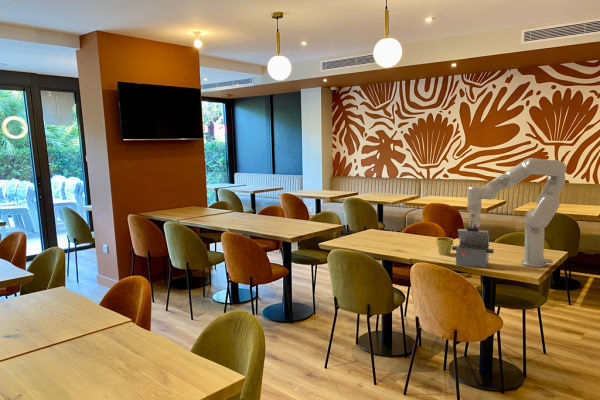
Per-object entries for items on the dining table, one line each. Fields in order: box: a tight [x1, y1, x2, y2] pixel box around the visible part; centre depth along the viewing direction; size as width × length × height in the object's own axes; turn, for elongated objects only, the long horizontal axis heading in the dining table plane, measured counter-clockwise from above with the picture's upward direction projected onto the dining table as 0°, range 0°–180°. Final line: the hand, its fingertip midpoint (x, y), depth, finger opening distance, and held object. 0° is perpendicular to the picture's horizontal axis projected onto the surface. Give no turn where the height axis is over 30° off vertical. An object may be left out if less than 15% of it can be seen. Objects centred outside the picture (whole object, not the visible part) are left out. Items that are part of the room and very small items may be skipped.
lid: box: [457, 227, 490, 247], centre depth 252 cm, size 16×14×3 cm
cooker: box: [451, 243, 494, 269], centre depth 250 cm, size 22×12×10 cm, turn 61°
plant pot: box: [435, 236, 454, 256], centre depth 275 cm, size 10×10×10 cm
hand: (473, 238), depth 254 cm, fingers closed
